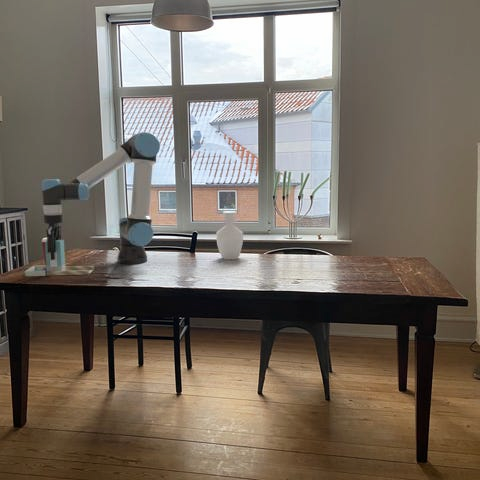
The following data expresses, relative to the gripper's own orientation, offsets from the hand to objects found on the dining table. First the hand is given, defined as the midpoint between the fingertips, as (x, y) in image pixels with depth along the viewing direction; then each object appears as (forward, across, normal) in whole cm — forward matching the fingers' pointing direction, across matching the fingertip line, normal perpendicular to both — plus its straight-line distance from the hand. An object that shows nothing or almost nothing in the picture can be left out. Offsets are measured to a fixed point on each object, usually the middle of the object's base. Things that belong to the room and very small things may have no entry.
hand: (56, 265), depth 203 cm
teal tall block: (+3, 0, 0) cm, 3 cm away
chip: (+4, -2, -5) cm, 7 cm away
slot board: (+4, 0, +6) cm, 8 cm away
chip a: (+4, +2, -5) cm, 7 cm away
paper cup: (+4, -19, -8) cm, 21 cm away
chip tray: (+4, 0, -7) cm, 9 cm away
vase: (+4, -29, +81) cm, 87 cm away
